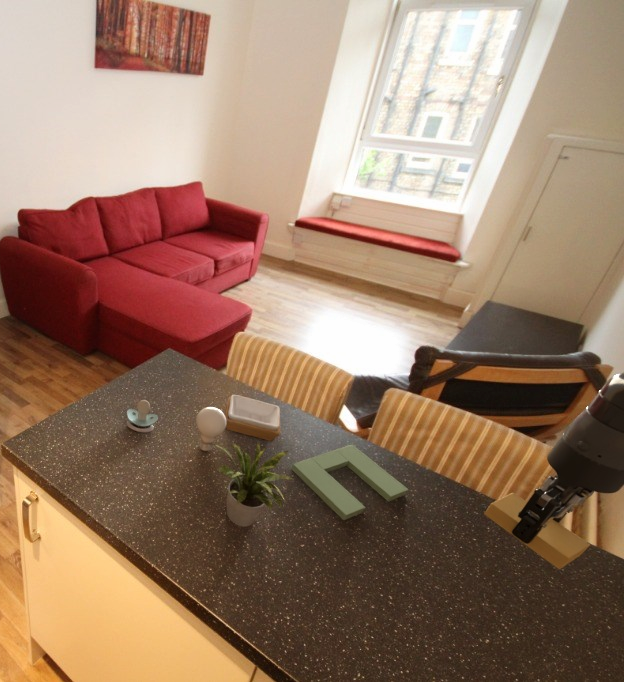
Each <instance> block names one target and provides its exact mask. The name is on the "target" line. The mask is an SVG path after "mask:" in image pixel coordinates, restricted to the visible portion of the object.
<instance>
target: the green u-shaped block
mask: <svg viewBox="0 0 624 682" xmlns="http://www.w3.org/2000/svg"><path fill="white" fill-rule="evenodd" d="M344 467H347V468H348V469H349V470H351V471H352V472H353V473H354V474H355V475H357V477H359V478H360V479H361V480H362V481H363V482H364V483H366V484H367V485H368V486H369V487H370V488H372V489H373V490H374V491H375V492H376V493H377V494H379V495H380V496H381V497H382V498H383V499H384V500H386V501H387V502H388V503H389V502H391V501H393V500H396V499H398V498H401V497H403V496H405V495H407V493H408V491H409V489H408V488H407V487H406V486H405V485H404V484H402V483H401V482H400V481H398V480H397V479H396V478H395V477H393V476H392V475H391V474H390V473H389V472H387V471H386V470H385V469H384V468H382V467H381V466H380V465H378V464H377V463H376V462H375V461H374V460H373V459H371V458H370V457H369V456H367V455H366V454H365V453H363V451H361V450H360V449H359V448H357V447H356V446H355V445H354V444H349V445H346V446H344V447H339V448H337V449H334V450H330V451H327V452H325V453H322V454H318V455H316V456H313V457H310V458H307V459H304V460H301V461H297V462H295V463H293V464H292V465H291V467H290V469H291V470H292V471H293V472H294V473H295V474H296V476H298V477H299V478H300V479H301V480H302V481H303V482H304V483H305V485H307V486H308V487H309V488H310V489H311V490H312V491H313V492H314V493H315V495H317V497H319V498H320V499H321V500H322V501H323V502H324V503H325V504H326V505H327V506H328V507H329V508H330V509H331V510H332V511H333V512H334V513H335V514H336V515H338V516H339V518H340V519H341V520H342V521H346V520H349V519H350V518H352V517H355V516H358V515H360V514H362V513H364V511H365V509H366V506H364V505H363V504H362V503H361V502H360V501H359V500H358V499H357V498H356V497H355V496H354V495H353V494H351V493H350V491H348V490H347V489H346V488H345V487H344V486H343V485H341V483H339V481H337V480H336V479H335V478H334V477H333V476H332V475H330V474H329V473H330V472H333V471H336V470H339V469H341V468H344Z"/></svg>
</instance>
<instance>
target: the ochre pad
mask: <svg viewBox="0 0 624 682" xmlns="http://www.w3.org/2000/svg"><path fill="white" fill-rule="evenodd" d="M527 502H528V501H526V500H524V499H523V498H522V497H521V496H519V495H517V494H516V493H515V492H511V493H509V494H506V495H505V496H503V497H501V498H499V499H497V500H495V501H493V502H491V503H490V505H488V507H487V508H486V510H485V511H484V513H483V515H484V516H485V517H487V518H488V519H490V520H491V521H493V522H494V523H495V524H497V525H498V526H500V527H501V528H502V529H503V530H504V531H506V532H508V533H509V534H510V535H512V537H514V538H515V539H517V540H518V541H520V542H521V543H522V544H524V545H525V546H527V547H528V548H529V549H531V550H532V552H534V553H536V554H537V555H539V556H540V557H541V558H543V559H544V560H546V561H547V562H548V563H550V564H551V565H552V566H553V567H555V568H556V569H558V570H561V569H562V568H564V567H566V565H568V564H570V563H571V562H573V561H574V560H576V559H577V558H579V557H580V556H582V555H583V553H584V552H585V551H586V550H587V549H588V548H589V547H590V546H591V544H590V542H588V541H586V540H584V539H583V538H582V537H580V536H579V535H577V534H576V533H574V532H573V531H571V530H570V529H568V528H567V527H565V526H564V525H562V524H561V523H560V522H559V523H558V522H556V521H555V520H553V519H552V520H551V521H550V522H549V523H548V524H547V527H546V528H543V529H542V530H541V531H540V532H539V533H538V535H537V536H536V537H535V538H534V539H533V540H532V541H531V542H530V543H528V544H526V543H524V542H522V541H521V540H520V539H518V538H517V537H516V536H514V535H513V534H512V530H513V529H514V528H515V527H516V525H517V524H518V523H519V522H520V520H521V518H519V517H518V515H519V514H518V513H519V512H520V511H521V510H522V509H523V508H524V506H525V505H526V504H527ZM534 514H535V513H534ZM537 516H538V515H537Z"/></svg>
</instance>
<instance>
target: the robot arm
mask: <svg viewBox="0 0 624 682" xmlns="http://www.w3.org/2000/svg"><path fill="white" fill-rule="evenodd" d="M546 460H547V463H548V464H549V466H550V467H551V468H552V469H553V470H554V471H555V473H556V474H555V475H554V476H553V475H549V476H548V477H547V478H546V480H544V482H543V483H542V487H541V488H540V487H539V488H536V489H535V490H534V491H533V494H532V495H531V497H530V498H529V499H528V500H527V501H526V502H527V504H526V505H525V506H524V508H523V509H522V510H521V511H520V512H519V513H518V514H519V515H518V517H519V518H521V520H520V522H519V523H518V524H517V525H516V527H515V528H514V529H513V530H512V534H513V535H514V536H516V537H517V538H518V539H520V540H521V541H522V542H524V543H526V544H528V543H530V542H531V541H532V540H533V539H534V538H535V537H536V536H537V535H538V533H539V532H540V531H541V530H542V529H543V528H546V527H547V524H548V523H549V522H550V521H551V520H552V519H553V520H555V521H556V522H558V523H559V524H560V523H561V522H562V520H563V519H564V518H565V517H566V516H567V514H570V513H573V512H574V511H575V509H578V508H580V507H581V506H582V505H584V503H585V502H586V500H588V499H589V498H590V497H592V496H593V494H595V493H598V494H599V493H600V494H614V493H618V492H619V491H620V490H621V489H622V488H623V487H624V372H620V373H617V374H614V375H613V376H611V377H610V378H609V379H608V380H607V381H606V383H604V385H603V386H602V387H601V388H600V390H599V391H598V392H597V393H596V394H595V396H594V397H593V399H592V400H591V401H590V402H589V404H588V405H587V407H585V409H584V410H582V412H581V413H579V414H578V415H577V416H576V417H575V418H574V419H573V421H572V422H571V423H570V424H569V426H568V427H567V428H566V430H565V431H564V432H563V433H562V435H561V437H560V438H559V439H558V440H557V442H556V443H555V444H554V445H553V447H552V448H551V450H550V451H549V452H548V453H547V455H546ZM534 513H535V514H534ZM537 515H538V516H537ZM512 534H511V535H512ZM513 535H512V536H513ZM514 536H513V537H514ZM516 537H515V538H516ZM517 538H516V539H517ZM518 539H517V540H518ZM520 540H519V541H520ZM521 541H520V542H521ZM522 542H521V543H522ZM524 543H523V544H524Z"/></svg>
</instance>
